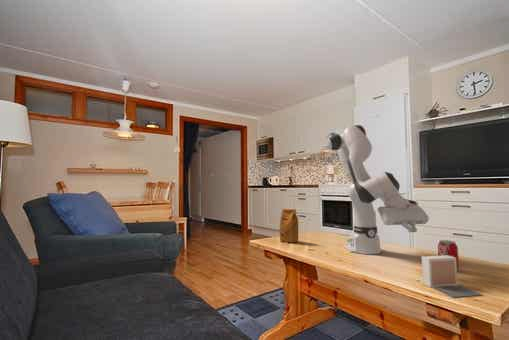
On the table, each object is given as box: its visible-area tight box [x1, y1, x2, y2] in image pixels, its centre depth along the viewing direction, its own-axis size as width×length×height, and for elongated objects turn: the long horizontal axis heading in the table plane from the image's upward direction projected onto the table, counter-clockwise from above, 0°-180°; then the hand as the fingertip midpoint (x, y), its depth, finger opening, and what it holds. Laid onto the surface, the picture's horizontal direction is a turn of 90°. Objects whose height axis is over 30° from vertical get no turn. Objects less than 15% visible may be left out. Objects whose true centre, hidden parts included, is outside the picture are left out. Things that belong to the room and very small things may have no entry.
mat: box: [432, 285, 483, 299], centre depth 89 cm, size 8×11×1 cm
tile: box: [421, 255, 459, 288], centre depth 96 cm, size 4×11×10 cm, turn 97°
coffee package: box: [278, 208, 299, 244], centre depth 176 cm, size 10×12×22 cm
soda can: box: [437, 239, 460, 271], centre depth 114 cm, size 7×7×12 cm
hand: (413, 231), depth 110 cm, fingers closed
